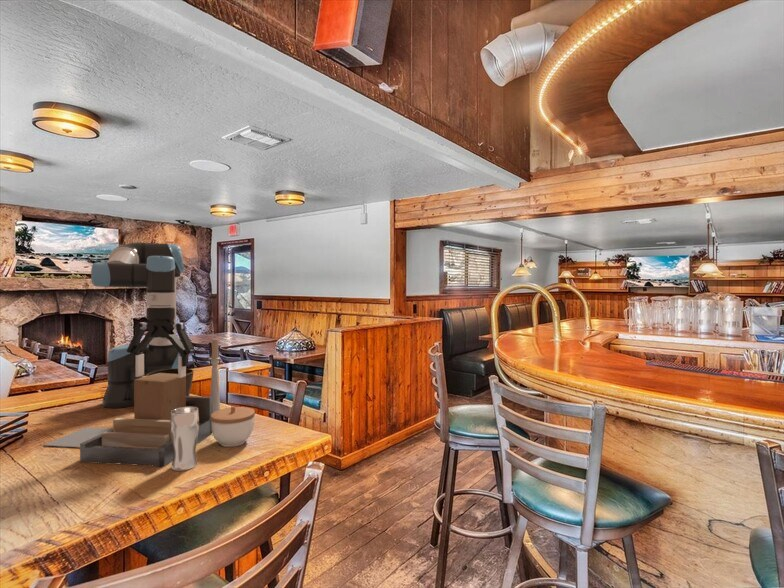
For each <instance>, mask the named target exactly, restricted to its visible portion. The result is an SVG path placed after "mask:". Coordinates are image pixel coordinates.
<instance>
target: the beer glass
mask: <svg viewBox="0 0 784 588" xmlns="http://www.w3.org/2000/svg"><path fill="white" fill-rule="evenodd" d="M198 432H199V414H198V408H197V407H192V406H188V407H180V408H176V409H173V410H172V411H171V415H170V437H171V443H172V448H173V461H172V462H171V470H173V471H174V472H175V471H176V472H182V471H183V472H184V471H188V470H190V469H193V468H196V466H197V465H198V460H197V455H196V452H197V449H196V448H197V444H196V443H197V438H198Z"/></svg>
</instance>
